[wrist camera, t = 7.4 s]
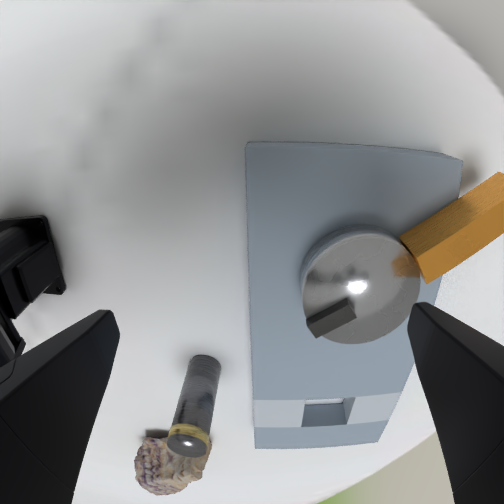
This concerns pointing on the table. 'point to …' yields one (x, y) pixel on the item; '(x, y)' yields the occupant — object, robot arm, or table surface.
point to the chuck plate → (289, 294)
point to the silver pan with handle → (392, 265)
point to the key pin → (195, 408)
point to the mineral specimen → (166, 467)
